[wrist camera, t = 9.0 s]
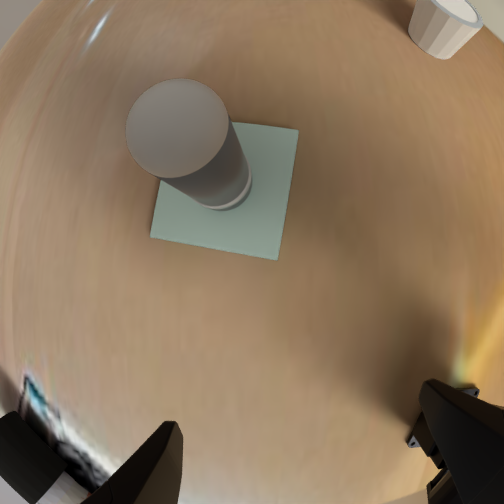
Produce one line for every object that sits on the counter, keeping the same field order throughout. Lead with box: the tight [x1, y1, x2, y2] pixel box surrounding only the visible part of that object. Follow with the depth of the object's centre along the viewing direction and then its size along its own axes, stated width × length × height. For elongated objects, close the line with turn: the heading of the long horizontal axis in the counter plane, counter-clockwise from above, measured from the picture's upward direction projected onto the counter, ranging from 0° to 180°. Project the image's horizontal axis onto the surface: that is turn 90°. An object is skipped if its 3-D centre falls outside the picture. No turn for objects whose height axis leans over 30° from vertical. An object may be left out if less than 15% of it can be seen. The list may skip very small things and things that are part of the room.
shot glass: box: [408, 0, 483, 59], centre depth 16 cm, size 7×7×7 cm
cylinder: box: [125, 78, 252, 211], centre depth 15 cm, size 5×5×12 cm
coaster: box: [150, 122, 299, 261], centre depth 21 cm, size 10×10×1 cm
